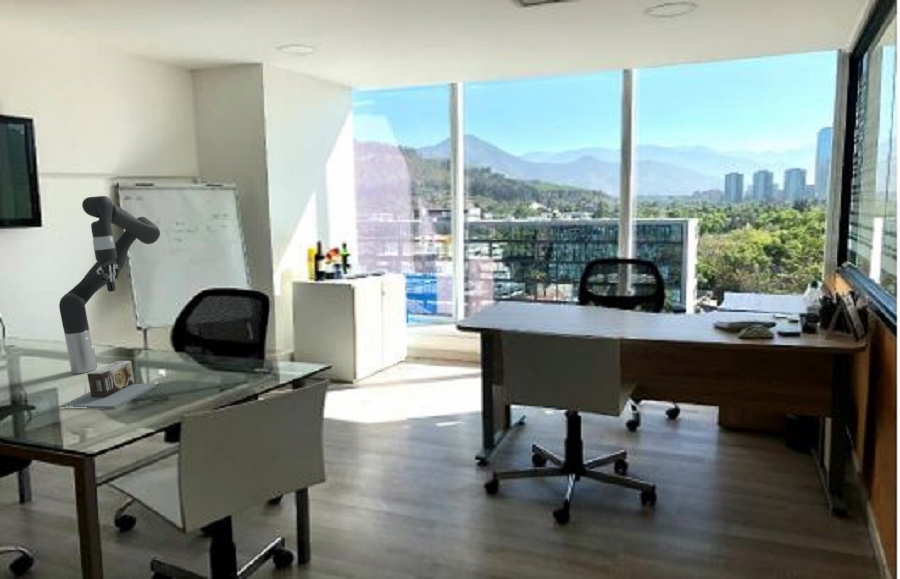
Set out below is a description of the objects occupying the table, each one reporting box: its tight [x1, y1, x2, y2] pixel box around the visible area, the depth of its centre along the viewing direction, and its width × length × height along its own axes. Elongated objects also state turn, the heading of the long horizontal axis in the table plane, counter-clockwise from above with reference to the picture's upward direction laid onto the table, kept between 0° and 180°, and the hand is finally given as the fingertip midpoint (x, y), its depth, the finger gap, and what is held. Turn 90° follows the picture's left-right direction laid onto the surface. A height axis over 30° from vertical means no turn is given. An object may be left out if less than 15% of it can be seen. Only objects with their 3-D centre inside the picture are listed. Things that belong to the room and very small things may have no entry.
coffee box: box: [87, 360, 136, 397], centre depth 254 cm, size 9×6×16 cm
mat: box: [59, 383, 158, 410], centre depth 250 cm, size 24×22×1 cm
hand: (111, 291), depth 271 cm, fingers closed
